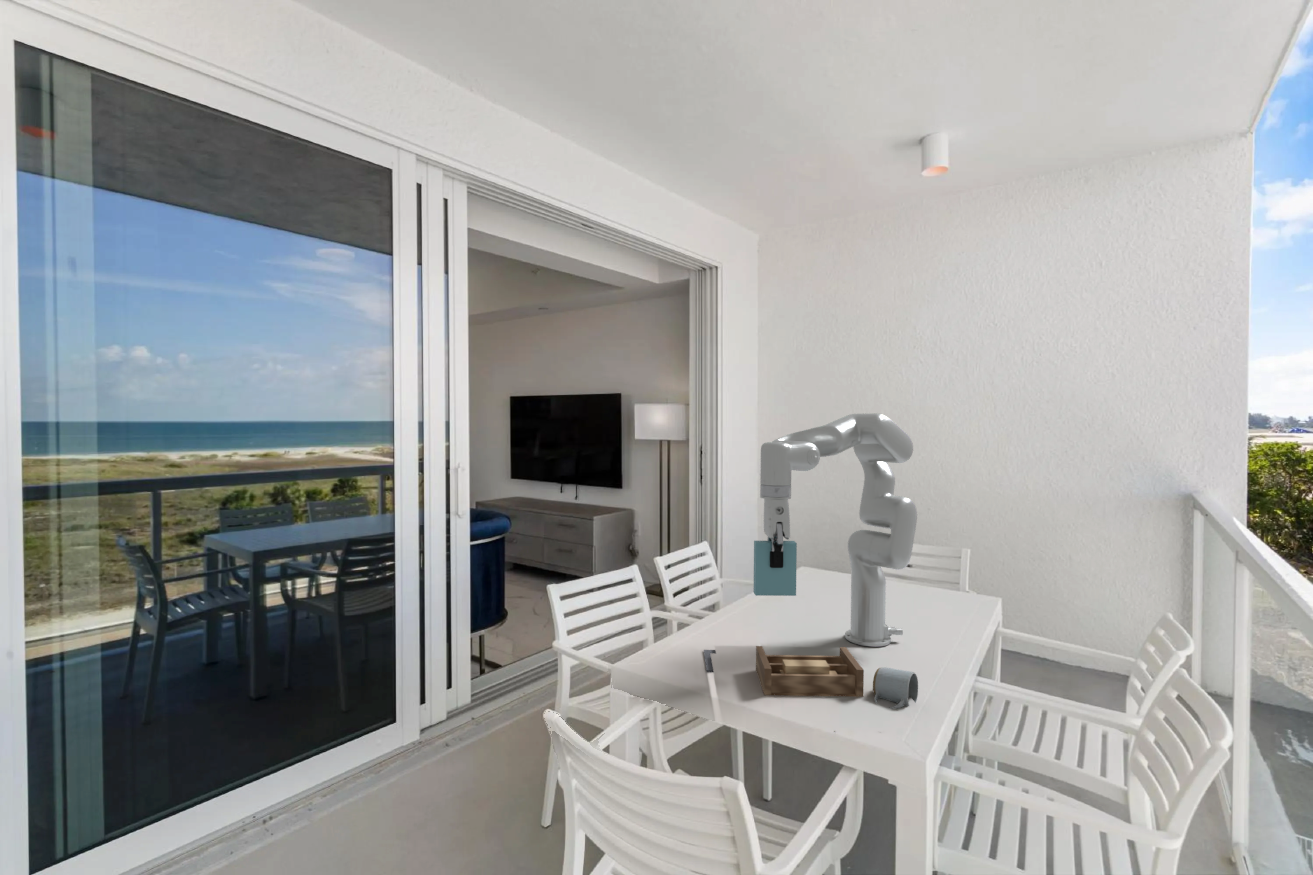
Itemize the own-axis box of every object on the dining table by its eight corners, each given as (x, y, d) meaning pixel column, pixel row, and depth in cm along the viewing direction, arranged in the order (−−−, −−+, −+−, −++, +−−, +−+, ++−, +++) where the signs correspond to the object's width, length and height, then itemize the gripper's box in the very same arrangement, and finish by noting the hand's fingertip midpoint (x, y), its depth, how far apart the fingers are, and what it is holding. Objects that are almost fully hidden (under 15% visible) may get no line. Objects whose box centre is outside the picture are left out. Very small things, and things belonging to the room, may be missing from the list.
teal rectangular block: (793, 592, 155) (793, 540, 154) (796, 595, 152) (796, 543, 151) (753, 592, 154) (754, 540, 154) (755, 595, 151) (756, 542, 151)
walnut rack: (845, 677, 151) (845, 647, 151) (863, 703, 137) (863, 669, 137) (755, 675, 152) (756, 645, 152) (764, 701, 138) (764, 668, 138)
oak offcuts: (835, 683, 144) (835, 660, 144) (839, 690, 140) (839, 666, 140) (779, 682, 145) (779, 659, 144) (782, 689, 141) (782, 665, 140)
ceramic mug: (882, 691, 143) (882, 659, 143) (918, 701, 138) (919, 668, 138) (865, 708, 135) (865, 674, 135) (904, 720, 130) (904, 684, 130)
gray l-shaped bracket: (762, 652, 168) (762, 650, 168) (770, 672, 154) (770, 670, 154) (703, 651, 168) (703, 649, 168) (706, 672, 154) (706, 670, 154)
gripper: (798, 495, 144) (797, 573, 145) (783, 488, 161) (782, 558, 161) (766, 495, 144) (765, 573, 145) (754, 488, 161) (754, 558, 161)
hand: (774, 565), depth 153 cm, fingers closed on teal rectangular block, 3 cm apart
